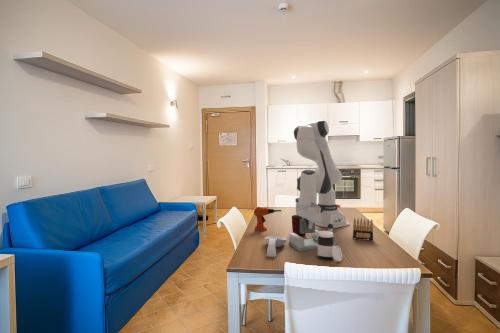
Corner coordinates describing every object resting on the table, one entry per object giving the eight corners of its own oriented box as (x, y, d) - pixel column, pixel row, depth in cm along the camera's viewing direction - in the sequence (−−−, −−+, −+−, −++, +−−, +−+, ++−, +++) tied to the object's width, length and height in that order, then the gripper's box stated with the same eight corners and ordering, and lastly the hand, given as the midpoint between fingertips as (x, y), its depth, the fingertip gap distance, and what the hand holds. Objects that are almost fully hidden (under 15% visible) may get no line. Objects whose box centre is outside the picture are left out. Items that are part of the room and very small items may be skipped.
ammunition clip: (352, 239, 164) (353, 218, 163) (352, 238, 165) (353, 217, 165) (373, 240, 160) (373, 219, 160) (372, 239, 162) (373, 218, 161)
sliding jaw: (326, 236, 163) (327, 221, 162) (338, 242, 152) (339, 226, 152) (311, 238, 159) (312, 222, 159) (323, 244, 149) (323, 227, 149)
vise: (324, 239, 162) (324, 229, 162) (336, 245, 152) (336, 234, 151) (288, 244, 155) (288, 233, 155) (298, 250, 145) (298, 239, 144)
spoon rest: (265, 241, 160) (265, 228, 160) (286, 242, 158) (287, 229, 158) (259, 257, 137) (259, 242, 137) (284, 258, 135) (284, 243, 135)
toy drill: (282, 231, 174) (279, 206, 174) (253, 231, 182) (251, 208, 181) (284, 229, 179) (282, 205, 179) (256, 229, 186) (253, 206, 186)
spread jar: (317, 252, 143) (318, 229, 142) (341, 254, 139) (342, 231, 139) (316, 261, 131) (316, 236, 130) (342, 264, 128) (342, 238, 127)
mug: (290, 231, 180) (291, 213, 179) (305, 231, 179) (305, 213, 178) (292, 236, 168) (292, 218, 167) (307, 237, 167) (307, 218, 166)
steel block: (312, 231, 155) (312, 218, 155) (315, 232, 152) (315, 219, 152) (299, 232, 153) (299, 219, 152) (302, 233, 150) (302, 220, 149)
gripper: (324, 204, 143) (323, 232, 143) (303, 197, 162) (303, 222, 163) (313, 205, 141) (312, 233, 141) (293, 198, 160) (293, 223, 161)
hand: (307, 227), depth 152 cm, fingers closed on steel block, 3 cm apart
